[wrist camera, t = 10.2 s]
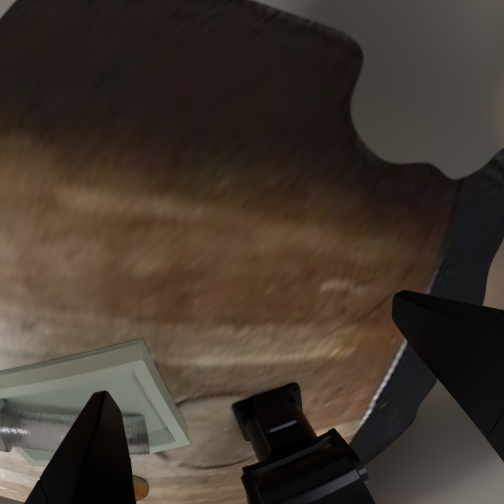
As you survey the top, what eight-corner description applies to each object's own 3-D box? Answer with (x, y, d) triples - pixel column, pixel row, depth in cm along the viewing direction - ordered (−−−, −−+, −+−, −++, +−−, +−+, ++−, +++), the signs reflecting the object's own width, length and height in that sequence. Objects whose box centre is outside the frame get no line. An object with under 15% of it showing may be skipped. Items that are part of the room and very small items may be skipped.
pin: (153, 471, 20) (-4, 460, 14) (145, 443, 24) (8, 435, 18) (147, 424, 20) (-19, 410, 14) (141, 400, 25) (-2, 390, 19)
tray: (186, 424, 26) (190, 444, 24) (36, 448, 22) (33, 466, 20) (142, 338, 22) (142, 359, 19) (-26, 375, 18) (-34, 393, 16)
